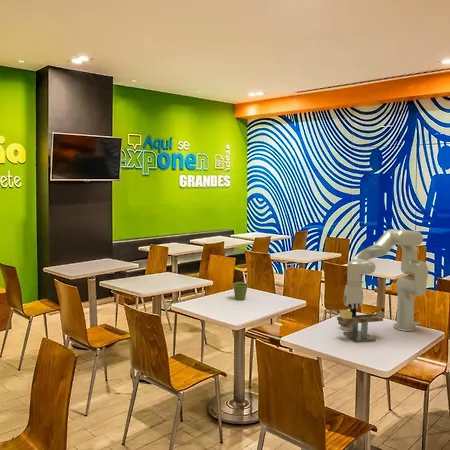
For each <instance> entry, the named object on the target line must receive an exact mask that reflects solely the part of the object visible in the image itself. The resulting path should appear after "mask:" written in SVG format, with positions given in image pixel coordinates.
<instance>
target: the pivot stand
mask: <svg viewBox="0 0 450 450" xmlns="http://www.w3.org/2000/svg"><path fill="white" fill-rule="evenodd" d="M360 324H361V325H360V326H361V327H360V328H361V329H360V330H359V323H352V331H343V333H342V334H343V335H344V336H345V337H346V338H348V339H350V340H351V341H352V342H354V343H373V342H374V343H375V342H376V338H375V337H373V336H372V335H370V334H369V333H368V328H369V327H368V325H369V322H367V321H362V323H360Z"/></svg>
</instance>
